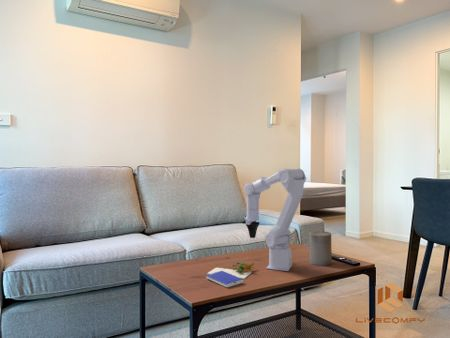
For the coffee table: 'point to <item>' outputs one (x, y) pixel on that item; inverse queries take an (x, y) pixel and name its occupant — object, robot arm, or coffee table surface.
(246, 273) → the cream mat
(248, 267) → the figurine
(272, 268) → the robot arm
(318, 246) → the pillar candle
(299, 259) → the coffee table surface
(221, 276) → the hard drive
